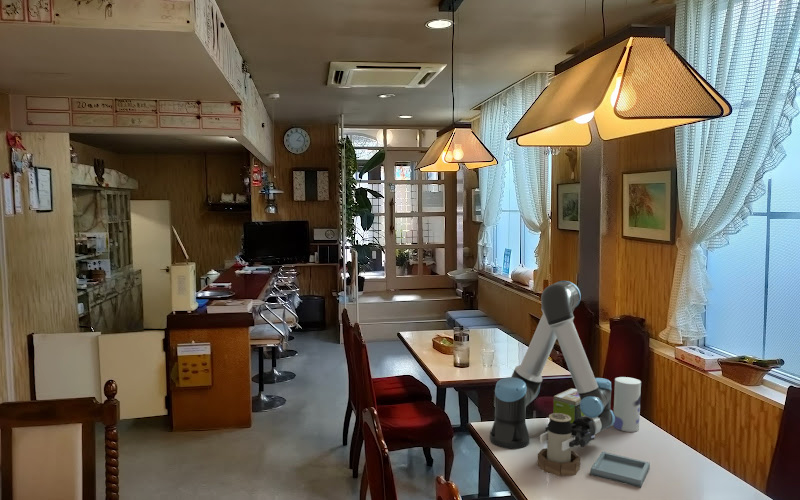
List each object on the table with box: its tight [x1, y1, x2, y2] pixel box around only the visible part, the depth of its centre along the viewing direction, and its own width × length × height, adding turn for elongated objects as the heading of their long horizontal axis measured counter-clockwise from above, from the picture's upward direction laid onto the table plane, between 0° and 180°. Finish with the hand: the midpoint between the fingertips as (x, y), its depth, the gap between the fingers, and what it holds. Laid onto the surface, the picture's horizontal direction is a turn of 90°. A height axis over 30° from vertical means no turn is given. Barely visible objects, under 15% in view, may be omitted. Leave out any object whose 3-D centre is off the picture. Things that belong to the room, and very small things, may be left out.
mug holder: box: [536, 447, 581, 477], centre depth 202 cm, size 13×13×4 cm
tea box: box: [552, 387, 584, 438], centre depth 237 cm, size 15×10×15 cm
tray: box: [590, 451, 651, 489], centre depth 199 cm, size 16×16×2 cm
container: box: [612, 376, 642, 433], centre depth 239 cm, size 10×10×20 cm
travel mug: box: [546, 413, 572, 463], centre depth 201 cm, size 8×8×18 cm
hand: (551, 442), depth 198 cm, fingers closed on travel mug, 8 cm apart
